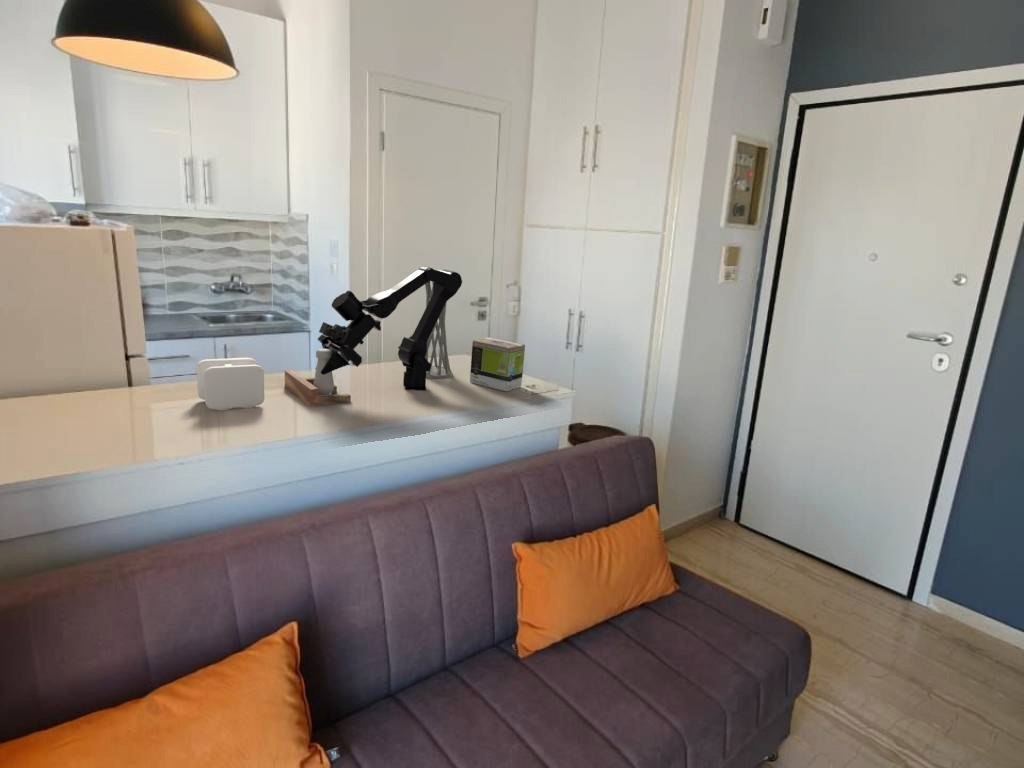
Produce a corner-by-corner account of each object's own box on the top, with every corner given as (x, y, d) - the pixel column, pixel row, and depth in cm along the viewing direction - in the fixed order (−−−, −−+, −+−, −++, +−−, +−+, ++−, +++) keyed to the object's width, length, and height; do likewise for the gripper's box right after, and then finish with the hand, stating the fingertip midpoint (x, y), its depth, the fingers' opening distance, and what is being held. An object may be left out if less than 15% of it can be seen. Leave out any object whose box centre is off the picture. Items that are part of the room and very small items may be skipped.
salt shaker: (337, 395, 175) (338, 350, 172) (318, 398, 172) (318, 352, 168) (328, 389, 179) (328, 346, 176) (309, 392, 176) (309, 348, 172)
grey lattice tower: (411, 367, 218) (416, 267, 208) (449, 368, 221) (455, 270, 211) (413, 377, 205) (419, 272, 196) (453, 379, 208) (460, 275, 199)
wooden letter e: (322, 382, 190) (322, 367, 189) (350, 401, 175) (350, 385, 174) (284, 386, 183) (284, 370, 182) (310, 406, 168) (311, 389, 167)
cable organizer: (202, 412, 157) (200, 368, 154) (197, 400, 165) (195, 358, 162) (264, 407, 165) (263, 365, 162) (257, 396, 173) (256, 356, 170)
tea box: (522, 387, 207) (526, 344, 203) (505, 392, 198) (510, 348, 194) (485, 377, 214) (489, 335, 210) (468, 382, 206) (471, 339, 202)
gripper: (324, 306, 178) (286, 346, 175) (351, 318, 165) (311, 362, 161) (349, 331, 186) (313, 370, 182) (378, 345, 172) (340, 387, 168)
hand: (319, 372), depth 173 cm, fingers closed on salt shaker, 3 cm apart
